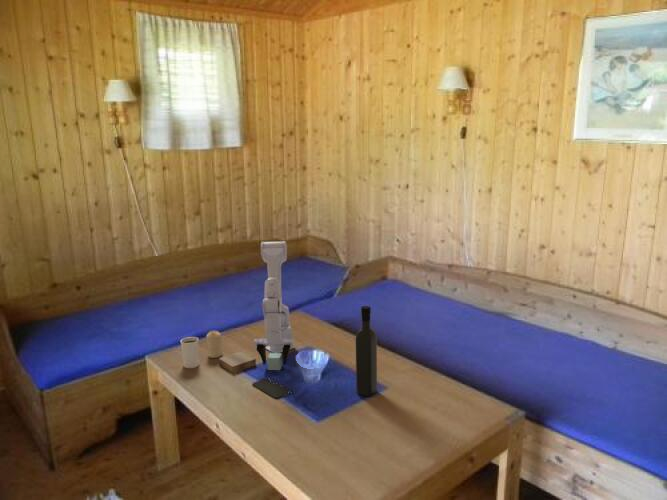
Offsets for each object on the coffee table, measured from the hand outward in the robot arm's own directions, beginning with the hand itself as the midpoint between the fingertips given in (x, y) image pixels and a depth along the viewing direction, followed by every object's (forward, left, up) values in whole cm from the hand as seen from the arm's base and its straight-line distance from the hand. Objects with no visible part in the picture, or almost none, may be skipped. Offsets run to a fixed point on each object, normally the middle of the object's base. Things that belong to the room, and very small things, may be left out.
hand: (274, 363), depth 203 cm
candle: (+11, -26, -2) cm, 28 cm away
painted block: (0, 0, -2) cm, 2 cm away
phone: (+10, +13, -2) cm, 17 cm away
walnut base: (+9, -12, -2) cm, 15 cm away
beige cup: (+22, -24, -2) cm, 33 cm away
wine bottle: (-12, +37, -2) cm, 39 cm away
